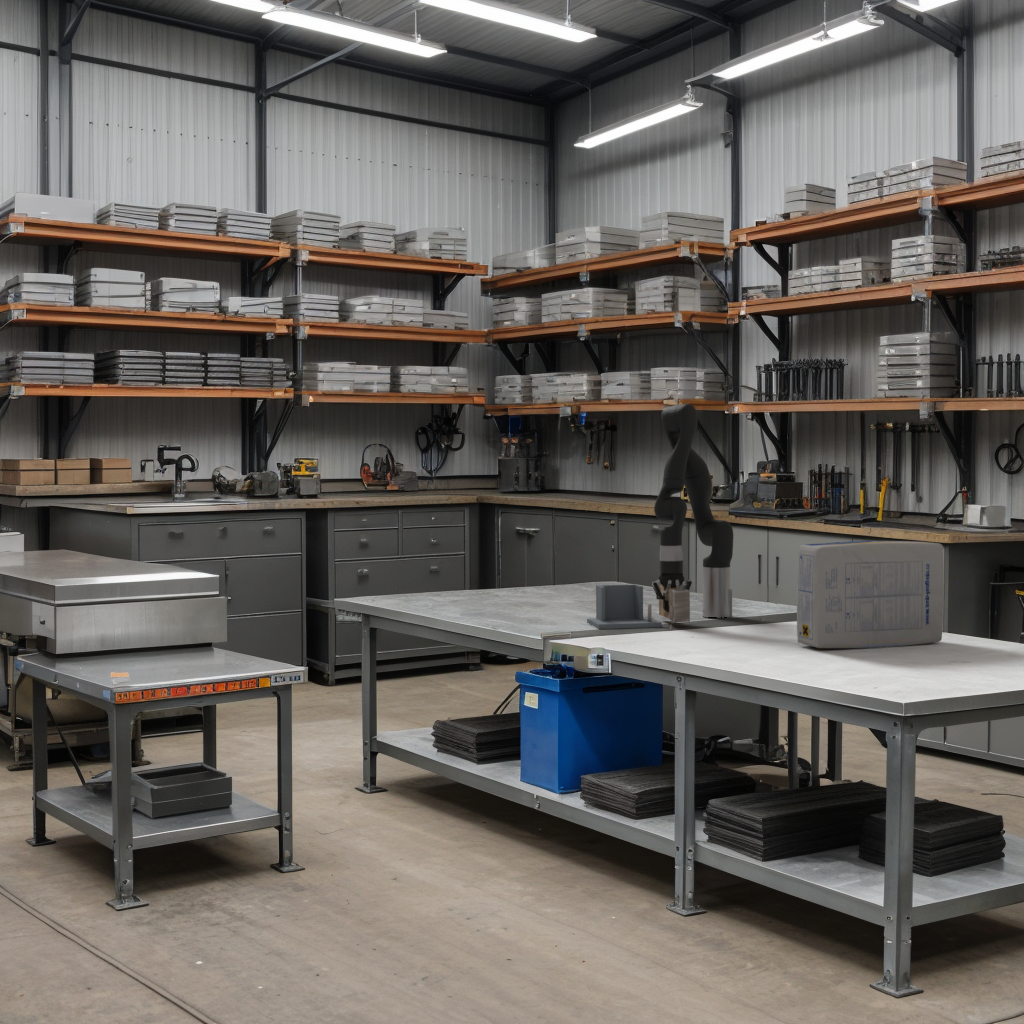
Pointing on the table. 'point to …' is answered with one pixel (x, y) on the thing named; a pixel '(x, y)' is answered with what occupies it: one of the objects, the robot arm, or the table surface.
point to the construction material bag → (870, 594)
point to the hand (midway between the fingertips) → (671, 611)
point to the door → (676, 605)
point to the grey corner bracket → (621, 608)
